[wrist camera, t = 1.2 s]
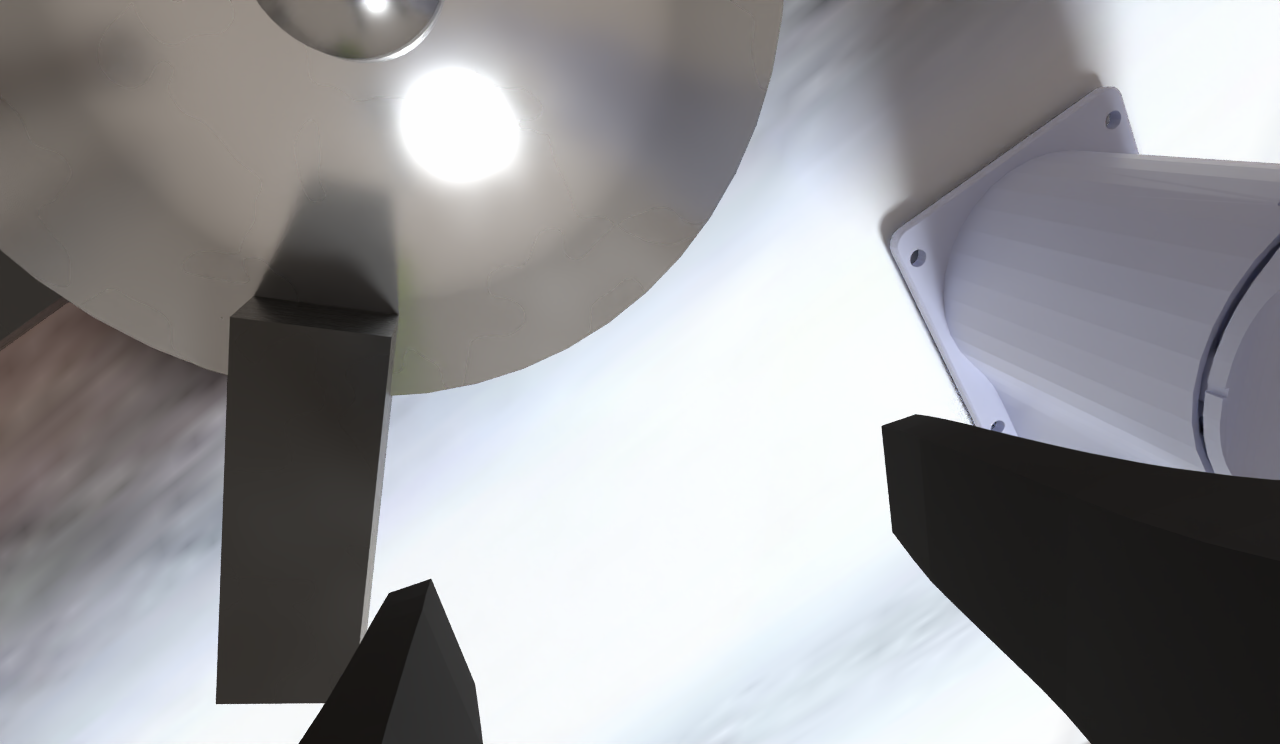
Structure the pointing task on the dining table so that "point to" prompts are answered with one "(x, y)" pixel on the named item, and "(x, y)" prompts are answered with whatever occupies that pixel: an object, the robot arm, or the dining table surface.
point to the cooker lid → (357, 229)
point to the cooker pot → (22, 301)
